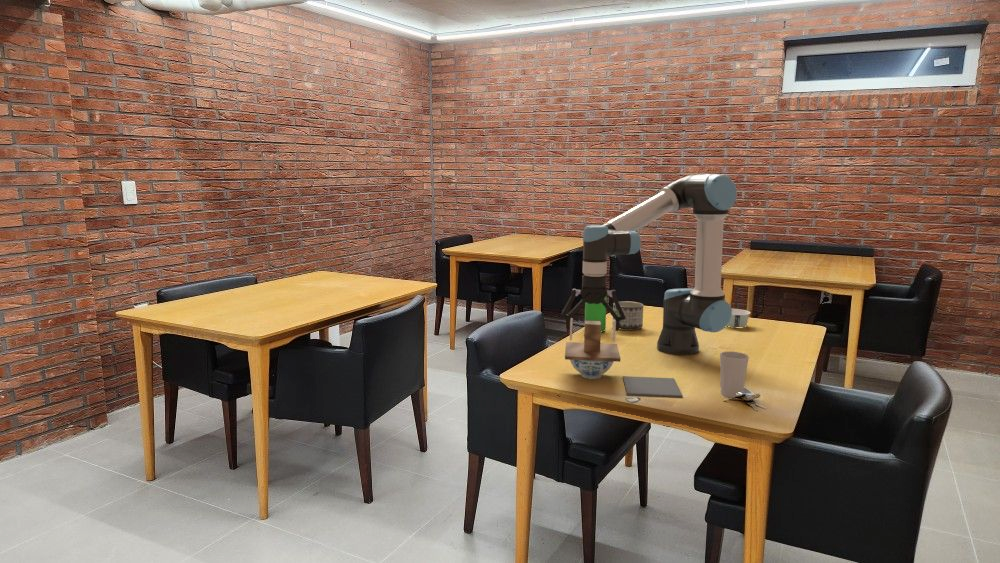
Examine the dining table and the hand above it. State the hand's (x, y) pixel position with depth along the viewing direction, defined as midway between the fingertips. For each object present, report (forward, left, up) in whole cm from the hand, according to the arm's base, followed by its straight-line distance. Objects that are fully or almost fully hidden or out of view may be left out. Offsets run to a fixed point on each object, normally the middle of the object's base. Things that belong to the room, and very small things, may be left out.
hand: (592, 339), depth 196 cm
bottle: (-3, -61, -12) cm, 62 cm away
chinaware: (0, 0, -12) cm, 12 cm away
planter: (-17, -68, -12) cm, 71 cm away
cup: (-41, +12, -12) cm, 44 cm away
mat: (-18, +9, -12) cm, 23 cm away
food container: (-64, -78, -12) cm, 102 cm away
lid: (0, 0, -4) cm, 4 cm away
